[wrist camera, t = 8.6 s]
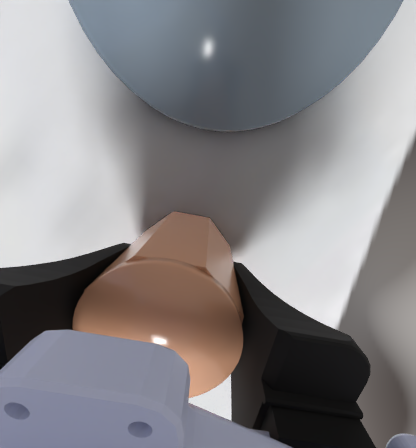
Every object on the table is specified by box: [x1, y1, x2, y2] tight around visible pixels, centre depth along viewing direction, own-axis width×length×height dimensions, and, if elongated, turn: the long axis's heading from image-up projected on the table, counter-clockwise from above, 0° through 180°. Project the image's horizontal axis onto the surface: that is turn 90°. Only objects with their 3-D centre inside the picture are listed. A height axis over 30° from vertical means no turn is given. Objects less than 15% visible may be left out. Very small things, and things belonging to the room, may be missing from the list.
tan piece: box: [72, 211, 244, 398], centre depth 10 cm, size 6×6×7 cm
